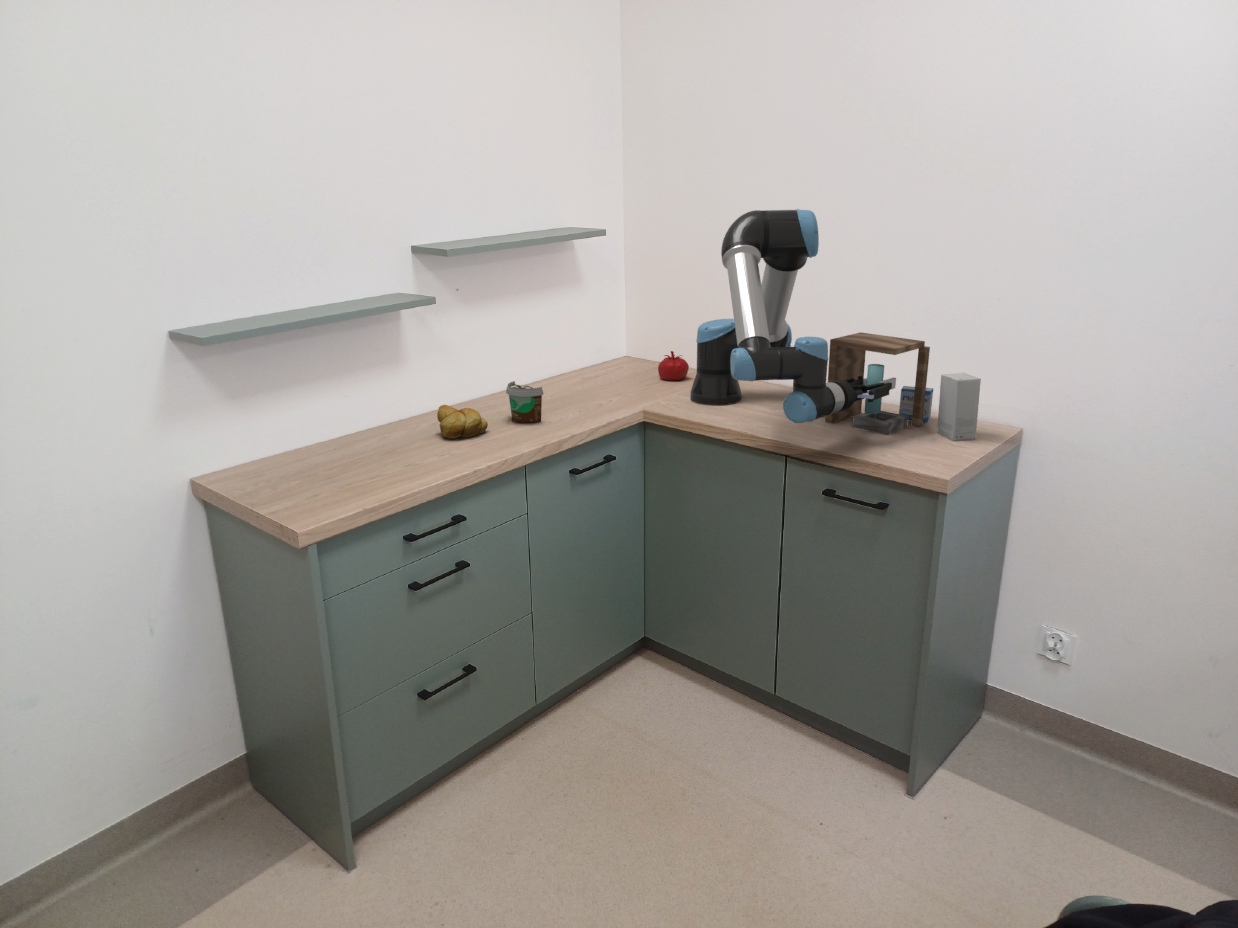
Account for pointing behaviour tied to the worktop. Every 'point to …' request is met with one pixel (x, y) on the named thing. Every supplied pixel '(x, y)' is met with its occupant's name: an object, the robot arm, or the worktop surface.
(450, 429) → the bread roll
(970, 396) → the skincare box
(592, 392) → the worktop surface
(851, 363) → the wooden table arch
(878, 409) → the peg
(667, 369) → the red tomato
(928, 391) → the medicine box
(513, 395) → the food container
